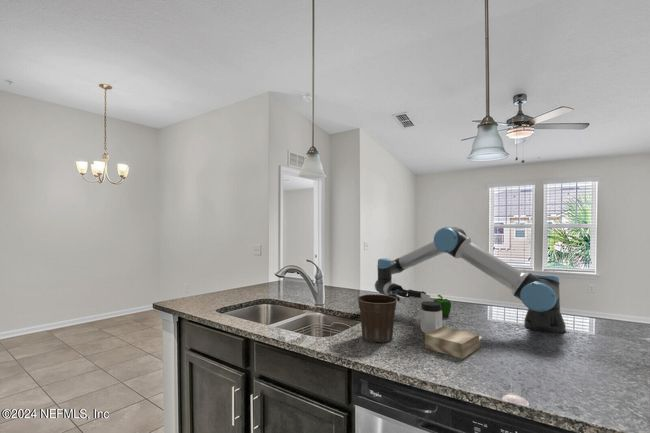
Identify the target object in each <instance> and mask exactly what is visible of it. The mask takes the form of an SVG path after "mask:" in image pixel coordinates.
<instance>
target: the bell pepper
mask: <svg viewBox="0 0 650 433" xmlns="http://www.w3.org/2000/svg"><path fill="white" fill-rule="evenodd" d="M437 297H439V298H434V300H433V301H432V302H438V303H440V304H441V310H442V317H446V316H449V315H450V313H451V308H452V302H451V300H449V299H448V298H443V296H442V295H441V294H437Z"/></svg>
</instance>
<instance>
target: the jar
mask: <svg viewBox="0 0 650 433" xmlns="http://www.w3.org/2000/svg"><path fill="white" fill-rule="evenodd" d="M420 305H421V306H420V330H421V331H422V332H423V334H427V333H429V332H432V331H434V330H436V329H438V328H441V327H443V316H442V310H441V304H440V303H438V302H433V301H432V300H430V301H426V300H425V301H421V303H420Z"/></svg>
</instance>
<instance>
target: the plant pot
mask: <svg viewBox="0 0 650 433" xmlns="http://www.w3.org/2000/svg"><path fill="white" fill-rule="evenodd" d="M357 301H358V302H357V303H358V308H359V312H360V313H359V316H360V326H361V335H362V336H361V337H362V339H363V340H364V341H367V342H369V343H373V344H375V343H377V342H378V343H380V344H383V343H390V342H391V341H393V337H394V336H393V335H394V326H395V325H394V322H395V311H396V309H397V302H398V300H397V298H395V297H392V296H388V295H384V294H375V293H374V294H363V295H360V296H358V297H357Z"/></svg>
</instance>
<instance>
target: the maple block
mask: <svg viewBox="0 0 650 433" xmlns="http://www.w3.org/2000/svg"><path fill="white" fill-rule="evenodd" d="M479 336H480V334H478V333H474V332H471V331H465V330H461V329H456V328H453V327H449V326H444V325H442V327H441V328H438V329H436V330H434V331H432V332H429V333H427V334H426V333H424V345H425V346H424V349H427V350H431V351H434V352H438V353H441V354H445V355H448V356H452V357H454V358H458V359H462V360H463V359H465V358H466V357H468V356H470V355H471V354H472V353H474V352H476V351H477V350H479V349H480V341H479Z"/></svg>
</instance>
